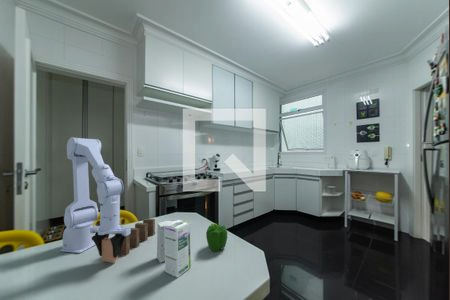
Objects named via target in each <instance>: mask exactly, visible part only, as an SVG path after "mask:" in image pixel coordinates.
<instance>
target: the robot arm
mask: <svg viewBox="0 0 450 300" xmlns="http://www.w3.org/2000/svg"><path fill="white" fill-rule="evenodd" d="M101 150H102V142H101V140H99V139H98V138H82V137H74V136H72V137H70V138H68V140H67V143H66V157H67V159H68V160H70V161H71V162H72V179H73V202H71V203H70V204H68V206H66V207H65V210H64V216H63V222H64V226H65V229H64V230H63V232H62V233H63V234H62V248H61V249H59V251H60V252H66V253H75V254H81V253H83V252H85V251H86V250H88V249H90V248H92V247H94V246H96V248H97V251H98V255H99V257H102V240H103V239H105V238H110V241H111V243H112V247H113V257H114V258H116V257H117V256H118V257H119V256H121V255H120V252H121V248H122V245H123V242H124V240H125V238H126V236H128V235H129V234H131V228H132V227H126V226H123V225H121V223H120V222H121V220H120V218H121V215H120V214H121V195H122V194H123V192H124V189H125V186H124V182H123V180H122V179H121V178H118V177H116V176H115V174H114V173H113V170H112V168H111V166H110V165H109V164H106V163H105V162H104V160H103V157H102V154H101ZM89 163H90V165H91V166H92V170H91V174H92V177H93V178H94V181H95V183H96V186H97V187H96V195H97V198H98V200H97V201H98V203H97V201H96V202H95V201H94V200H91V199H90V183H89V182H90V180H89ZM98 204H100V205H99V206H100V207H99V208H98ZM99 212H100V213H99ZM98 217H99V225H94V224H95V223H96V221H97V219H98ZM110 235H113V236H112V237H110Z"/></svg>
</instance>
